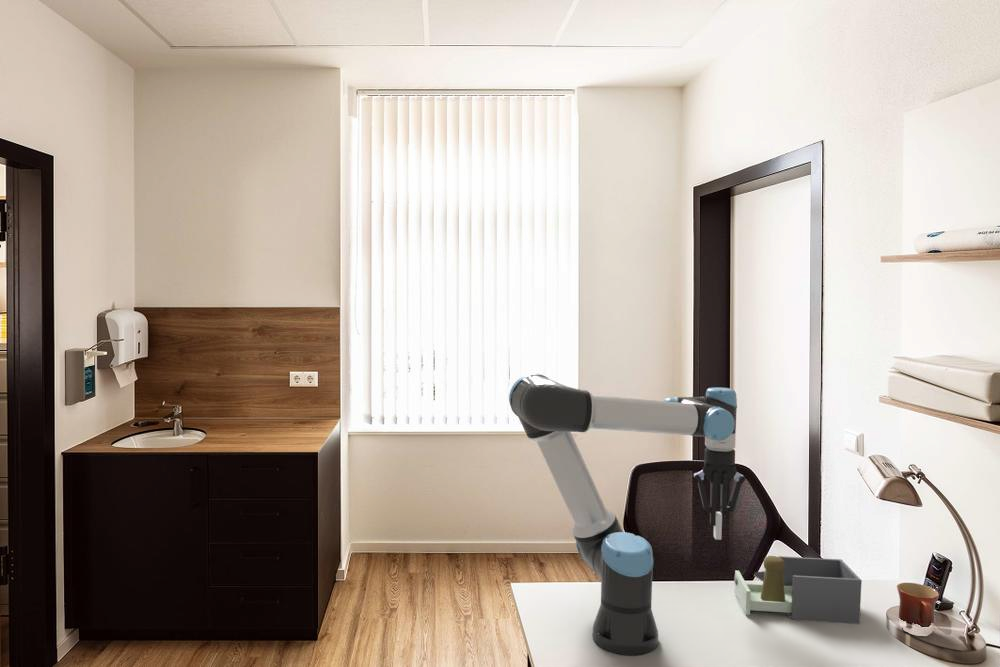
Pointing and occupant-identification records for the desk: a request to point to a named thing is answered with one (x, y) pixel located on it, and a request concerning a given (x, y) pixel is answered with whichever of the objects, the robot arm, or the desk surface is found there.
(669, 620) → the desk surface
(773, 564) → the cork
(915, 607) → the mug
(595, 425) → the robot arm
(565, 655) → the desk surface
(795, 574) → the grey drawer box
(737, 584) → the pale green drawer
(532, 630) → the desk surface
